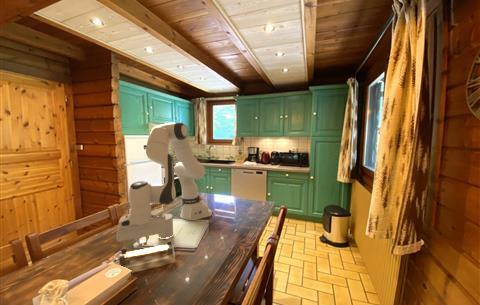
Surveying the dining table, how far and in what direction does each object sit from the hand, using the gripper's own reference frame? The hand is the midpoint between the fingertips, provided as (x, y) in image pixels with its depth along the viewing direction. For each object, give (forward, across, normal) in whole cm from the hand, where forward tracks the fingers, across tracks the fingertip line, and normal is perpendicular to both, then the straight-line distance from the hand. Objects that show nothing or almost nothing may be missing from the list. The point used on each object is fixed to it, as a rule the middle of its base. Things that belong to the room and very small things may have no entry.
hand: (142, 244), depth 92 cm
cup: (+9, -11, -20) cm, 24 cm away
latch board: (+8, -2, 0) cm, 9 cm away
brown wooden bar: (+5, -2, 0) cm, 5 cm away
